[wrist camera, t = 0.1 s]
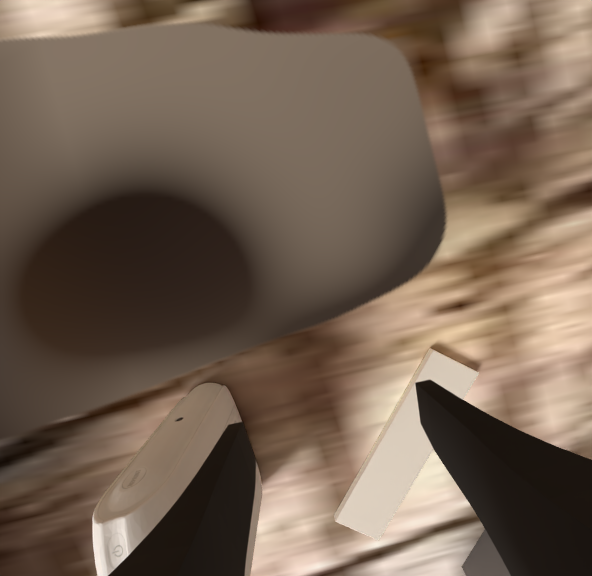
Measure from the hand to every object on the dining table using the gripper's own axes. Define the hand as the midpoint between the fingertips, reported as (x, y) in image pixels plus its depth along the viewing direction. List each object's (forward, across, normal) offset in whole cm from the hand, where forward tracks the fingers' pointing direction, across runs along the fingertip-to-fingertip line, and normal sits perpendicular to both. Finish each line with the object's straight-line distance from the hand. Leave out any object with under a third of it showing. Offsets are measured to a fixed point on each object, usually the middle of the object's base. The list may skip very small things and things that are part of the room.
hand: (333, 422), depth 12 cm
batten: (+9, -5, +11) cm, 15 cm away
